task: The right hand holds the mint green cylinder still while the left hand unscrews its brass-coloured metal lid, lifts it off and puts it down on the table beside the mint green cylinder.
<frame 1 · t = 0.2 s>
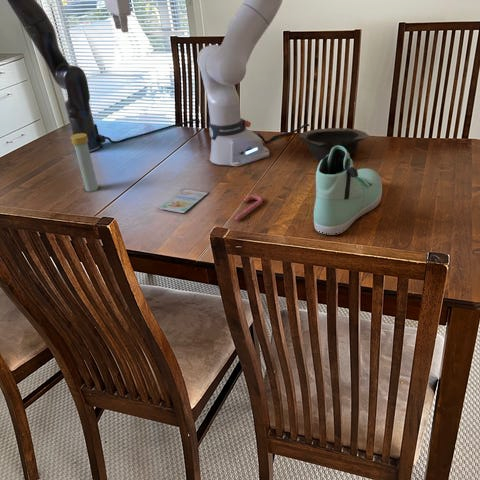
right hand: (122, 30, 145), 48 cm above the table, tool pointing down, fingers open, 8 cm apart
sneaker: (348, 208, 139), on the table
baking ingredient package: (184, 201, 150), on the table
candy cane: (247, 210, 143), on the table
stone bowl: (332, 153, 176), on the table
mint green cylinder: (92, 188, 164), on the table
lid: (78, 136, 154), point 18 cm above the table, screwed on, not yet turned
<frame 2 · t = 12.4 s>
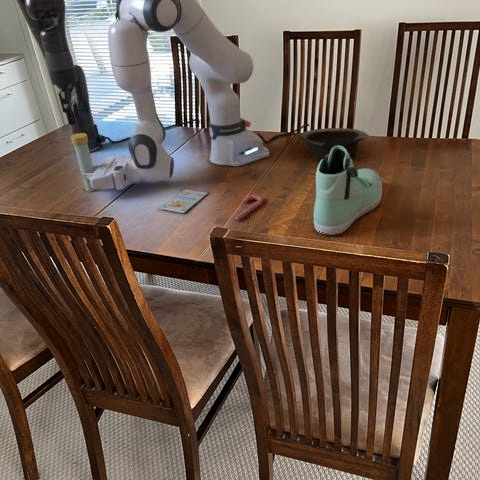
left hand: (74, 120, 151), 24 cm above the table, tool pointing down, fingers open, 7 cm apart
right hand: (85, 172, 160), 6 cm above the table, tool horizontal, fingers closed on mint green cylinder, 4 cm apart
mint green cylinder: (92, 188, 164), on the table, touching right hand
everything else where it was.
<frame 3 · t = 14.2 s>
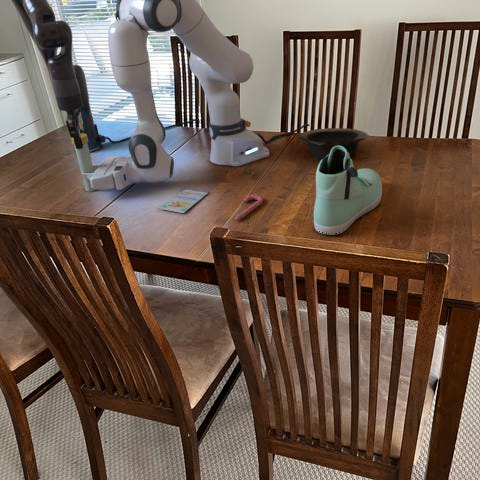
left hand: (81, 145, 156), 16 cm above the table, tool pointing down, fingers closed on lid, 5 cm apart
right hand: (85, 172, 160), 6 cm above the table, tool horizontal, fingers closed on mint green cylinder, 4 cm apart
mint green cylinder: (92, 188, 164), on the table, touching right hand
lid: (78, 136, 154), point 18 cm above the table, screwed on, not yet turned, touching left hand
everything else where it was.
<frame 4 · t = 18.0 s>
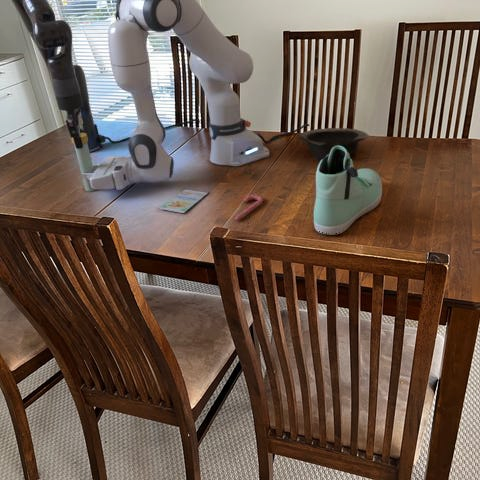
left hand: (80, 144, 155), 16 cm above the table, tool pointing down, fingers closed on lid, 5 cm apart
right hand: (85, 172, 161), 6 cm above the table, tool horizontal, fingers closed on mint green cylinder, 4 cm apart
mint green cylinder: (91, 188, 164), on the table, touching right hand
lid: (78, 136, 154), point 19 cm above the table, turned 92° so far, risen 0.1 cm, still on its thread, touching left hand
everything else where it was.
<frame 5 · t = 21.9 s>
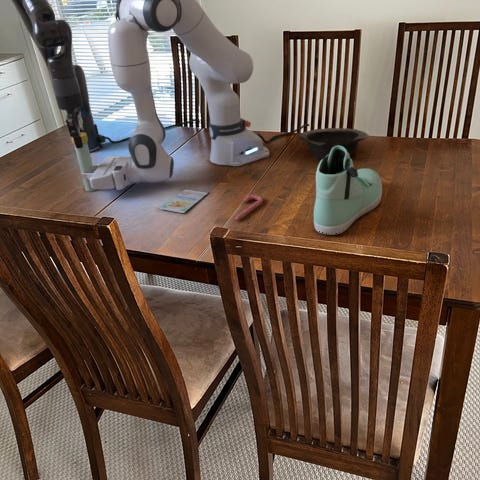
left hand: (80, 144, 155), 16 cm above the table, tool pointing down, fingers closed on lid, 5 cm apart
right hand: (85, 172, 161), 6 cm above the table, tool horizontal, fingers closed on mint green cylinder, 4 cm apart
mint green cylinder: (91, 188, 164), on the table, touching right hand
lid: (78, 135, 154), point 19 cm above the table, turned 184° so far, risen 0.3 cm, still on its thread, touching left hand
everything else where it was.
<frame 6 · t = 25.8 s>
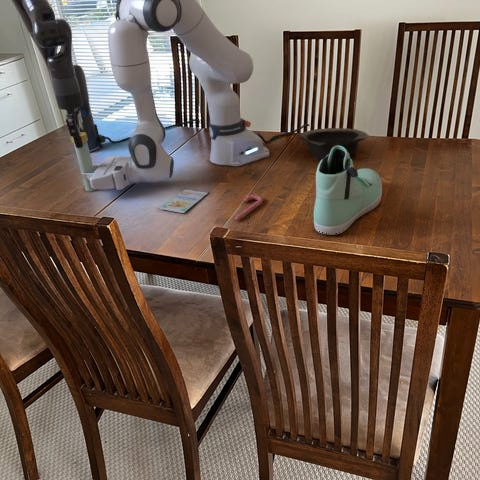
left hand: (80, 144, 155), 16 cm above the table, tool pointing down, fingers closed on lid, 5 cm apart
right hand: (85, 172, 161), 6 cm above the table, tool horizontal, fingers closed on mint green cylinder, 4 cm apart
mint green cylinder: (91, 188, 164), on the table, touching right hand
lid: (78, 135, 154), point 19 cm above the table, turned 276° so far, risen 0.4 cm, still on its thread, touching left hand
everything else where it was.
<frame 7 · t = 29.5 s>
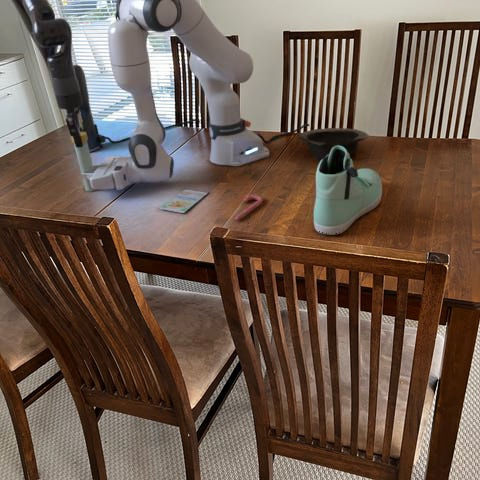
left hand: (80, 143, 155), 16 cm above the table, tool pointing down, fingers closed on lid, 5 cm apart
right hand: (85, 172, 161), 6 cm above the table, tool horizontal, fingers closed on mint green cylinder, 4 cm apart
mint green cylinder: (91, 188, 164), on the table, touching right hand
lid: (78, 135, 154), point 19 cm above the table, turned 368° so far, risen 0.5 cm, still on its thread, touching left hand
everything else where it was.
when the left hand's fingers open (0 cm above the table, at t = 37.7 s): lid drops 1 cm, point 2 cm above the table.
when the right hand's fingers open (6 cm above the table, at t = 38.7 s): mint green cylinder stays where it is, on the table.
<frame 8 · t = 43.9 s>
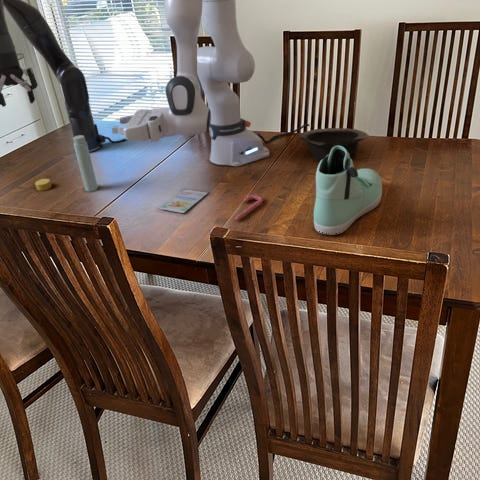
left hand: (18, 104, 152), 29 cm above the table, tool pointing down, fingers open, 8 cm apart
right hand: (116, 125, 152), 22 cm above the table, tool horizontal, fingers open, 8 cm apart
mint green cylinder: (91, 188, 164), on the table
lid: (42, 182, 167), point 2 cm above the table, off its thread
everything else where it was.
at the end: lid came off its thread; lid point 1.9 cm above the table; the left hand is holding nothing; the right hand is holding nothing; mint green cylinder tilted 0°; mint green cylinder moved 0.2 cm from its start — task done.
